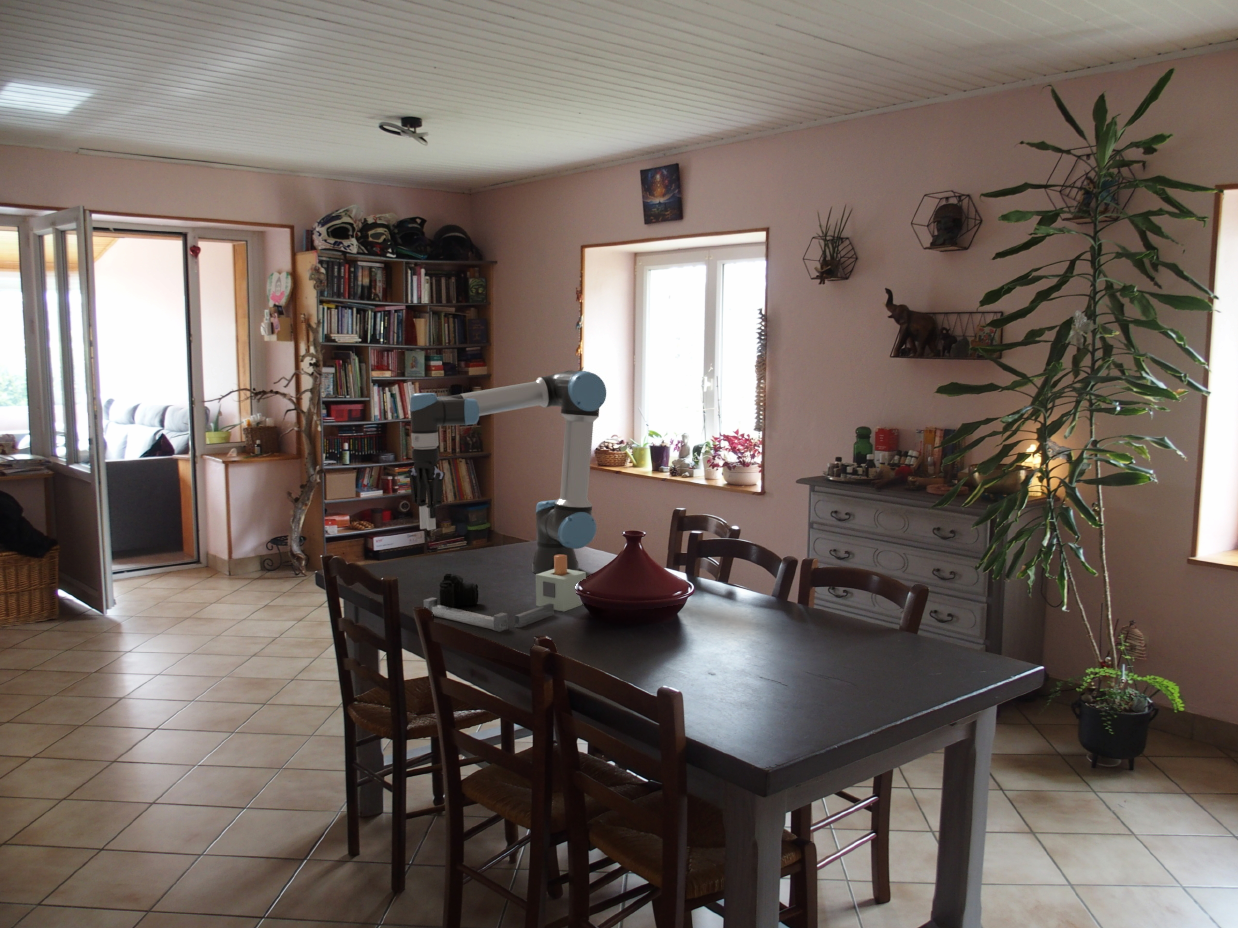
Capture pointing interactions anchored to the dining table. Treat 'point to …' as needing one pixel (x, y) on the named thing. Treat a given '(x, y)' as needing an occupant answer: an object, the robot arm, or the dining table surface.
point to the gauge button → (560, 565)
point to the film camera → (457, 592)
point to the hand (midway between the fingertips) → (427, 528)
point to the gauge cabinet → (558, 589)
